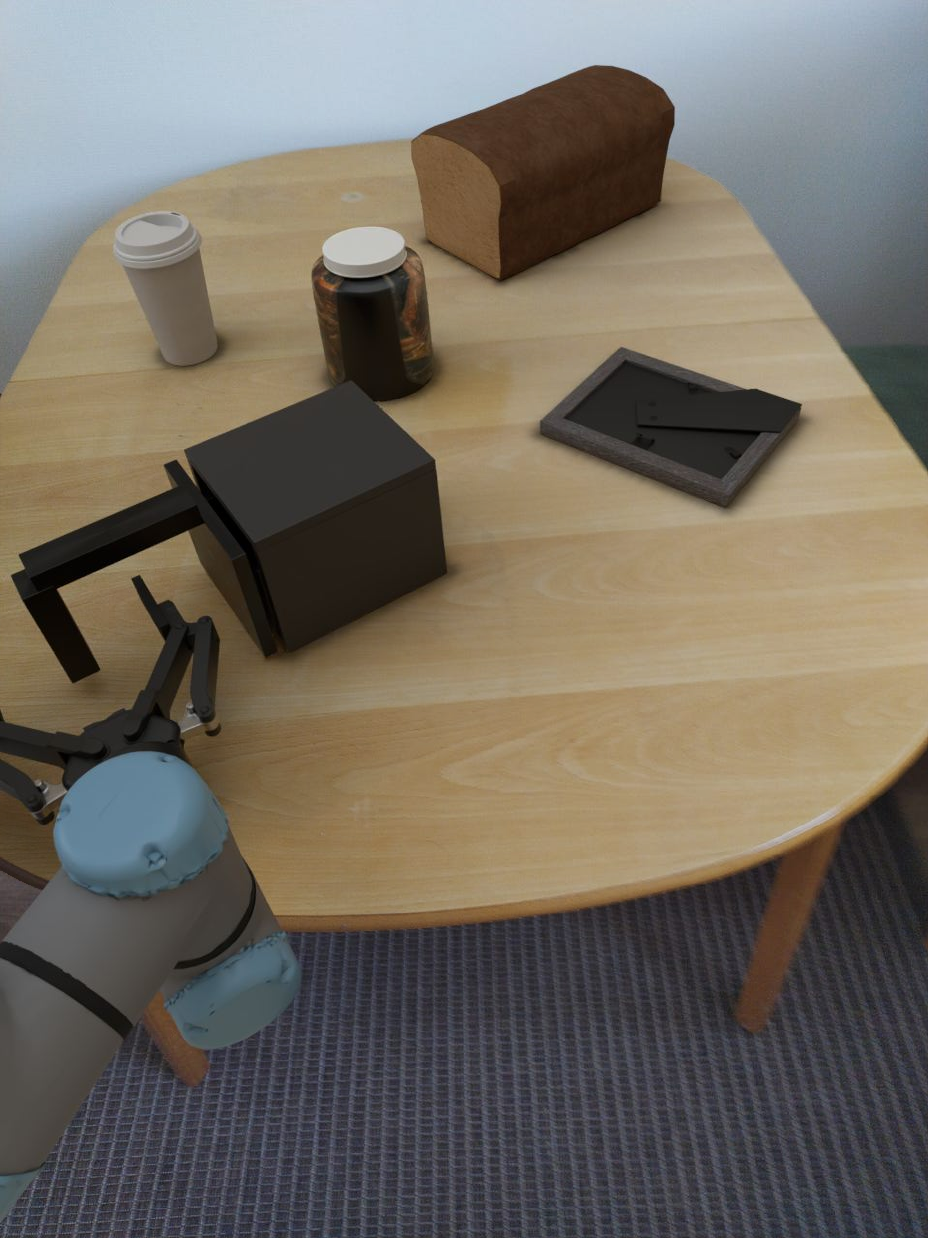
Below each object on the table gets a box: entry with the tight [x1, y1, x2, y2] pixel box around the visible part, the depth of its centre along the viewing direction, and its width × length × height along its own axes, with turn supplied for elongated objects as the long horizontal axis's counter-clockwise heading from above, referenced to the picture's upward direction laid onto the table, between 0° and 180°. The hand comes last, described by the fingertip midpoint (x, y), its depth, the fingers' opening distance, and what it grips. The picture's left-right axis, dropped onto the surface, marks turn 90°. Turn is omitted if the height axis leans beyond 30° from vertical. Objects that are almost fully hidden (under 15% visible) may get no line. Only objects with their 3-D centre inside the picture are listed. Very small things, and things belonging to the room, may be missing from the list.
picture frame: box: [539, 346, 803, 509], centre depth 96 cm, size 16×2×21 cm
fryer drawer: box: [10, 459, 279, 684], centre depth 78 cm, size 30×14×13 cm, turn 123°
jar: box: [310, 225, 435, 401], centre depth 101 cm, size 12×12×15 cm
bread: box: [410, 64, 676, 280], centre depth 122 cm, size 18×30×16 cm, turn 129°
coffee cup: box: [112, 210, 219, 367], centre depth 107 cm, size 10×10×15 cm
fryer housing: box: [183, 380, 448, 654], centre depth 82 cm, size 16×14×13 cm
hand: (59, 624), depth 75 cm, fingers open, 13 cm apart
